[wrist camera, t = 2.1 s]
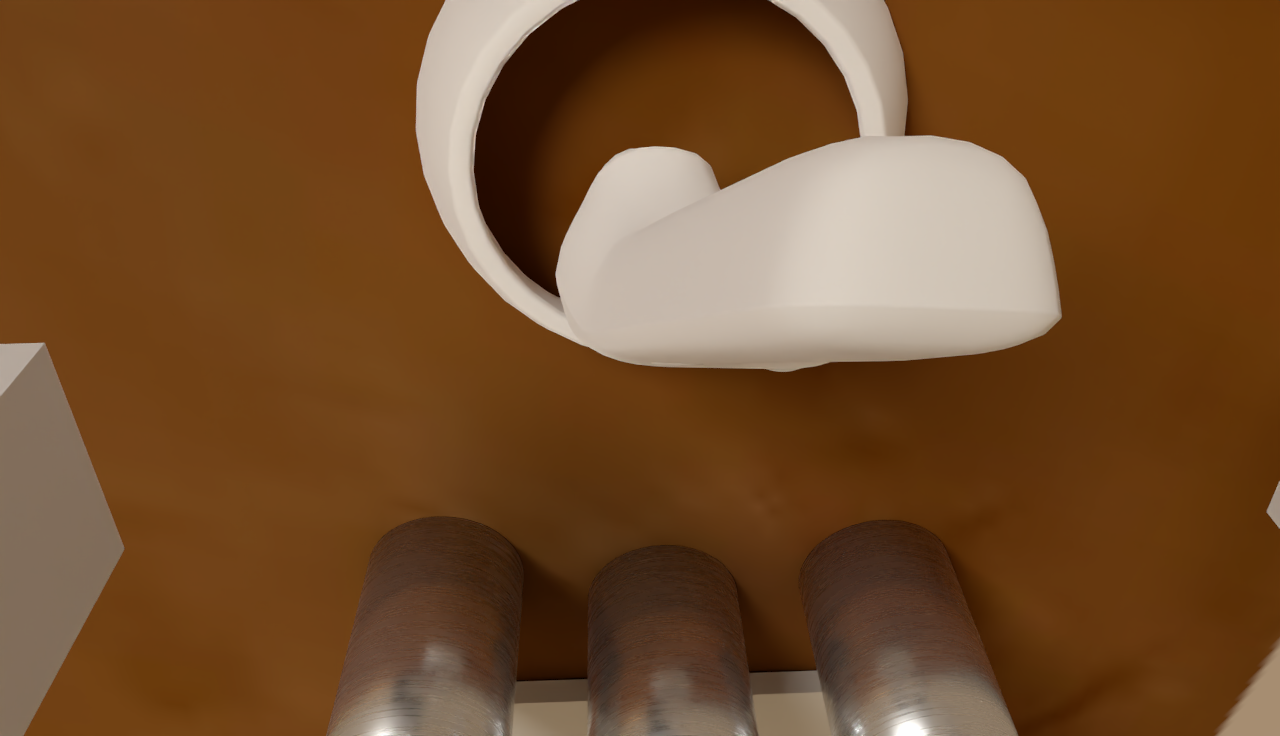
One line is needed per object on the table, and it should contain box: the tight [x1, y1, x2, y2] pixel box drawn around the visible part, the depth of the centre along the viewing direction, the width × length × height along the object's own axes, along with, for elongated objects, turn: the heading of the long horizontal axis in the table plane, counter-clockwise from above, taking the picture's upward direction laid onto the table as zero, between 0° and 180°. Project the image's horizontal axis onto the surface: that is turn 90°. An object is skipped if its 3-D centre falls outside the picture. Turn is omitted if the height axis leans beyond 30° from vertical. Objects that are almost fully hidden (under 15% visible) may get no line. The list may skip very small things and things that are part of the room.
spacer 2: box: [587, 545, 759, 736], centre depth 20 cm, size 3×3×6 cm
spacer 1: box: [327, 517, 524, 736], centre depth 19 cm, size 3×3×6 cm
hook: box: [416, 0, 1062, 372], centre depth 13 cm, size 8×12×7 cm
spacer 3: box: [799, 520, 1018, 736], centre depth 20 cm, size 3×3×6 cm
